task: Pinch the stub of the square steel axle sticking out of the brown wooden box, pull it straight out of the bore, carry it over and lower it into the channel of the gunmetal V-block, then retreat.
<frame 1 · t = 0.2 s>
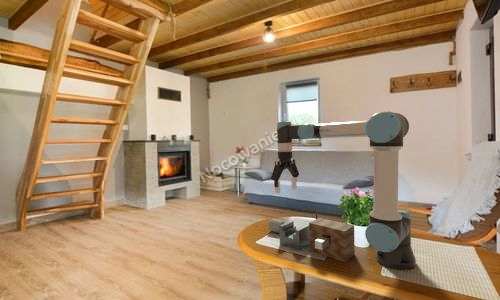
hand: (286, 191, 137), 28 cm above the table, fingers open, 13 cm apart
v block: (294, 244, 135), on the table
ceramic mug: (278, 231, 154), on the table
eiffel tower figurine: (317, 232, 152), on the table
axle: (327, 243, 121), point 6 cm above the table, touching brown wooden box
brown wooden box: (331, 252, 124), on the table
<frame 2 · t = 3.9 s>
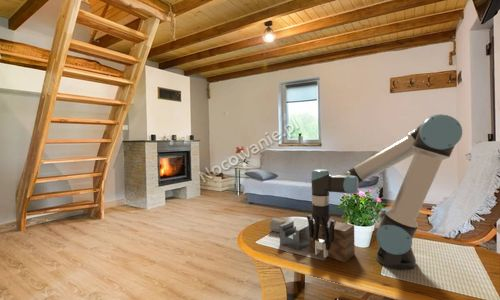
hand: (321, 254, 117), 2 cm above the table, fingers closed on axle, 3 cm apart
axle: (327, 243, 121), point 6 cm above the table, touching brown wooden box, gripper
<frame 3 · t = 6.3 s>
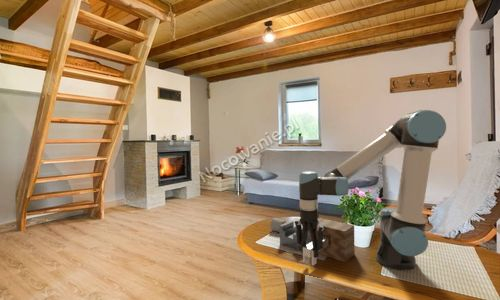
hand: (309, 262, 110), 2 cm above the table, fingers closed on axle, 3 cm apart
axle: (316, 250, 114), point 6 cm above the table, touching gripper
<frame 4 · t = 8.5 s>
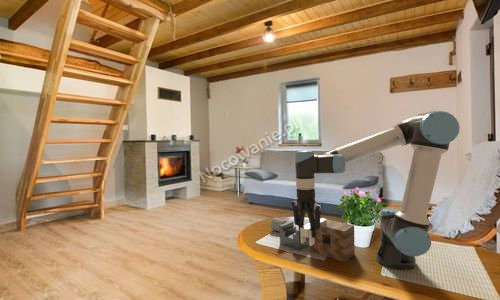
hand: (307, 243, 108), 12 cm above the table, fingers closed on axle, 3 cm apart
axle: (314, 231, 112), point 15 cm above the table, touching gripper
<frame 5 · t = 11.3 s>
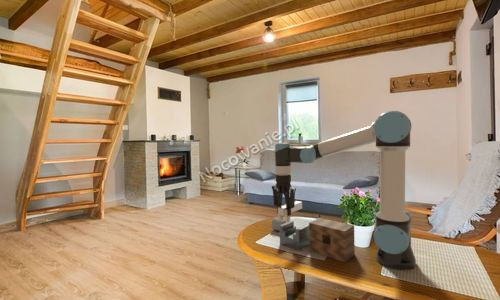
hand: (284, 220, 128), 15 cm above the table, fingers closed on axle, 3 cm apart
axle: (290, 211, 132), point 18 cm above the table, touching gripper
when the fingers open (2 cm above the table, at t = 13.5 s): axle stays where it is, resting on v block.
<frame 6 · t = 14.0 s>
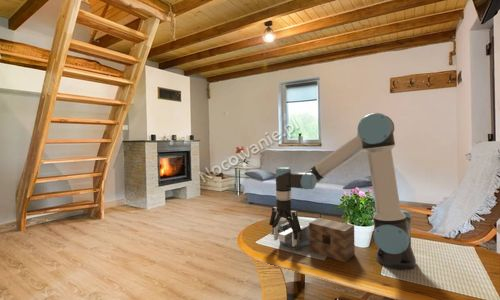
hand: (285, 242, 129), 4 cm above the table, fingers open, 10 cm apart
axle: (291, 236, 133), point 5 cm above the table, touching v block
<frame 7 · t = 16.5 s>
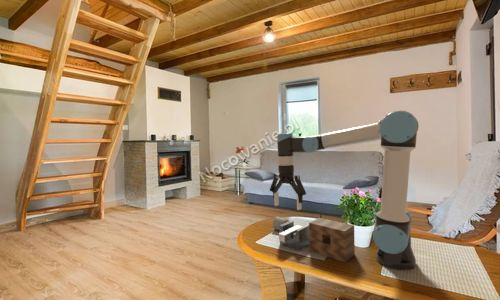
hand: (287, 207, 128), 21 cm above the table, fingers open, 13 cm apart
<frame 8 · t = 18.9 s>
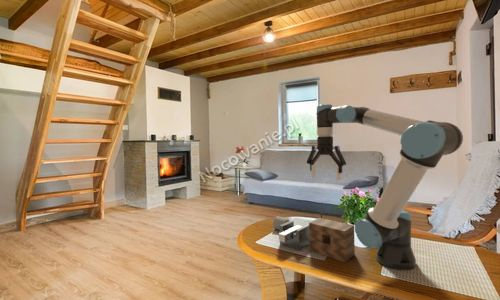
hand: (325, 178, 129), 35 cm above the table, fingers open, 13 cm apart
at the end: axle 0.1 cm from the target spot on the v block, point 5.0 cm above the v block's base; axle tilted 0°; the gripper is holding nothing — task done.
